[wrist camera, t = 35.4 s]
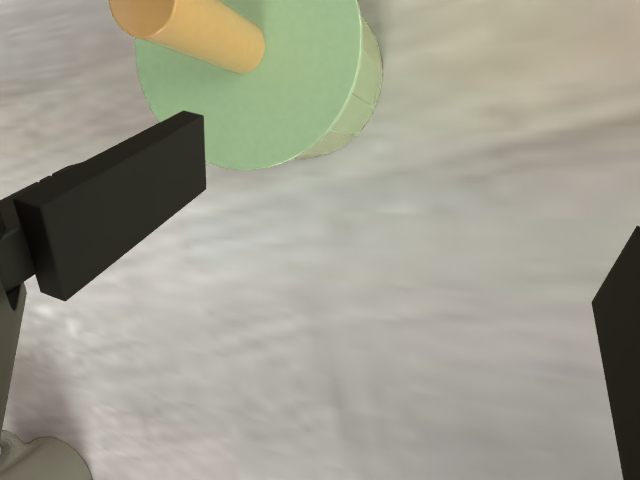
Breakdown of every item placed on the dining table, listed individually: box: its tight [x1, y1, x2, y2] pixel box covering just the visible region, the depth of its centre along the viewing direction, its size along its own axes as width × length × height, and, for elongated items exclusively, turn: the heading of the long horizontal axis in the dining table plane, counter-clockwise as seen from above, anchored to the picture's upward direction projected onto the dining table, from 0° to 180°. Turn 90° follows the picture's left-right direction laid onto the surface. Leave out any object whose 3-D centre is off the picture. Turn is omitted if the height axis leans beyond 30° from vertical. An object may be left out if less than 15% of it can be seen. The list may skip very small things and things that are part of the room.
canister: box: [292, 15, 383, 160], centre depth 33 cm, size 13×13×12 cm
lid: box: [109, 0, 363, 170], centre depth 23 cm, size 14×14×10 cm
